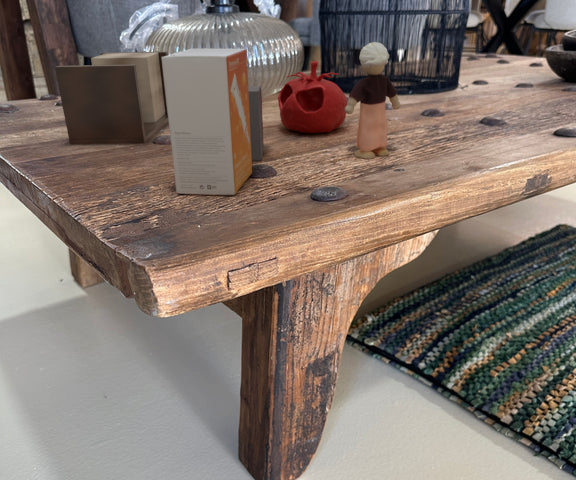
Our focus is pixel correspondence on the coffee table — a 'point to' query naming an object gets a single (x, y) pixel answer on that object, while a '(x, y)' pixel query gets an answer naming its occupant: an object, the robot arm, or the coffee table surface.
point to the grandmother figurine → (372, 102)
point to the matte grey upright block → (256, 122)
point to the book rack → (114, 98)
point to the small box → (208, 119)
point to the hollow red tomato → (312, 103)
